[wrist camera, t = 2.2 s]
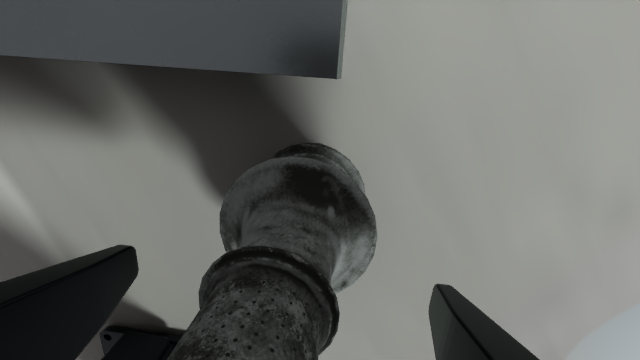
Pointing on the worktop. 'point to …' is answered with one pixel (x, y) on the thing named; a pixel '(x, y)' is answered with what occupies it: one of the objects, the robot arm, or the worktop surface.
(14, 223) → the worktop surface
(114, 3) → the grey flat block
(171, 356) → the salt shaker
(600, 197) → the worktop surface
